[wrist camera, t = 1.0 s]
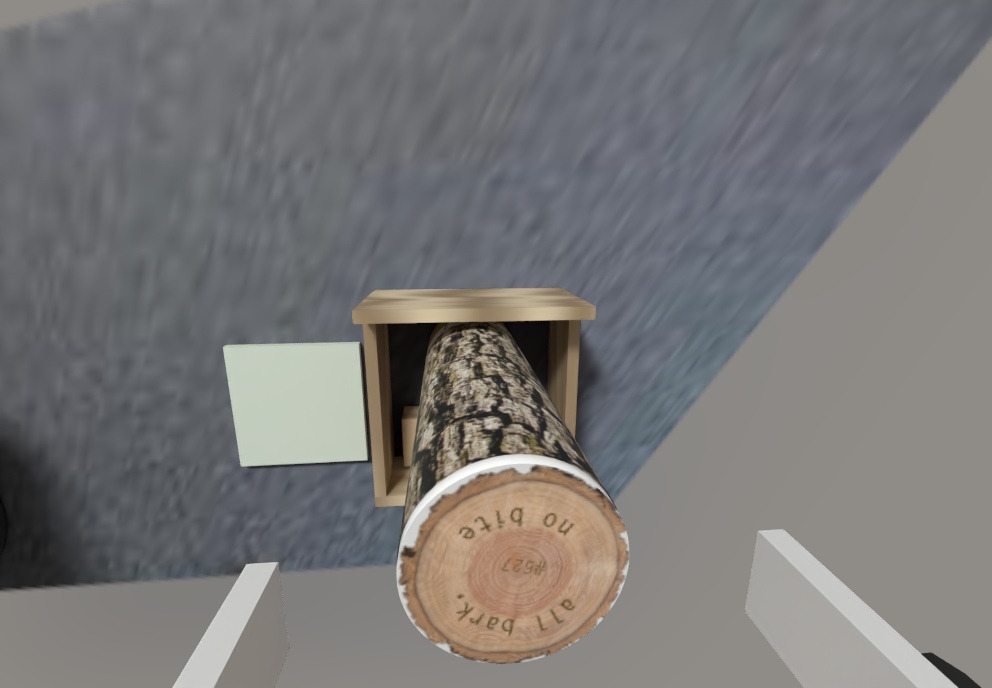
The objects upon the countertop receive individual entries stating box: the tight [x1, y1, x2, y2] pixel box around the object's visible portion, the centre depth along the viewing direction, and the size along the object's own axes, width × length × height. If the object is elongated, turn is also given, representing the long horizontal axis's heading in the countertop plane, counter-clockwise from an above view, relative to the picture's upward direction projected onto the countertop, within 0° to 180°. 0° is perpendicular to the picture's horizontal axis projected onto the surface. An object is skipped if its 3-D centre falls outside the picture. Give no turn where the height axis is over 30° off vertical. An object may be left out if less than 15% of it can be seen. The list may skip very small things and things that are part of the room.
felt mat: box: [223, 342, 369, 466], centre depth 37 cm, size 10×10×1 cm
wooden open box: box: [352, 288, 596, 507], centre depth 34 cm, size 15×15×9 cm
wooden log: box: [397, 321, 629, 664], centre depth 25 cm, size 7×7×25 cm
